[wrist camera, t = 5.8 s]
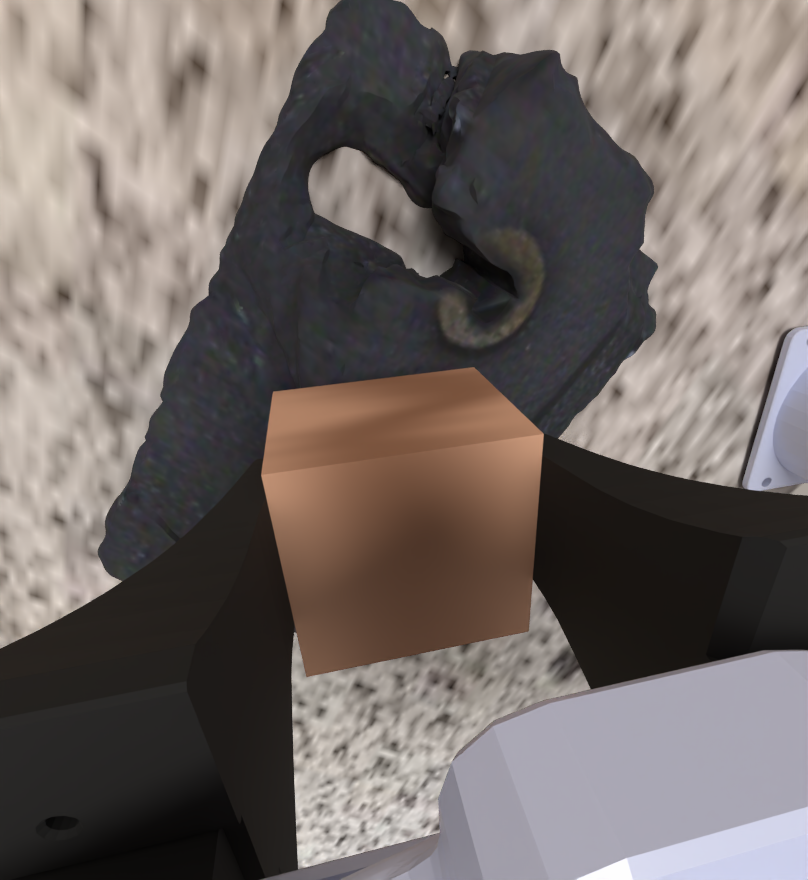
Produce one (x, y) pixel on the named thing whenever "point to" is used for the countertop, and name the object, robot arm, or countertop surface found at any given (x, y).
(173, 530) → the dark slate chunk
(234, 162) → the countertop surface
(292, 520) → the terracotta block
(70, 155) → the countertop surface
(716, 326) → the countertop surface
